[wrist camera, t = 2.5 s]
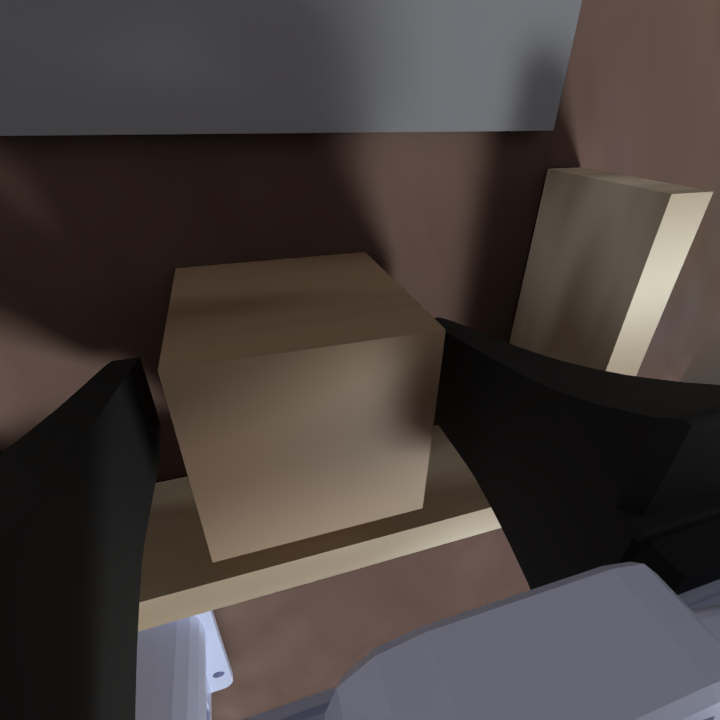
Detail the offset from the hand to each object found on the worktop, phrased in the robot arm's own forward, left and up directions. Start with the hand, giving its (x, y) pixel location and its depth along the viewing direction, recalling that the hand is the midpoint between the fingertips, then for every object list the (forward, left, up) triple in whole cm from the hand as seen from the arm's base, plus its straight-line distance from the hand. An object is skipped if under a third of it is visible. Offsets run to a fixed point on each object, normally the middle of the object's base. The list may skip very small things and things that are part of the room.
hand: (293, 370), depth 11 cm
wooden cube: (0, 0, -2) cm, 2 cm away
